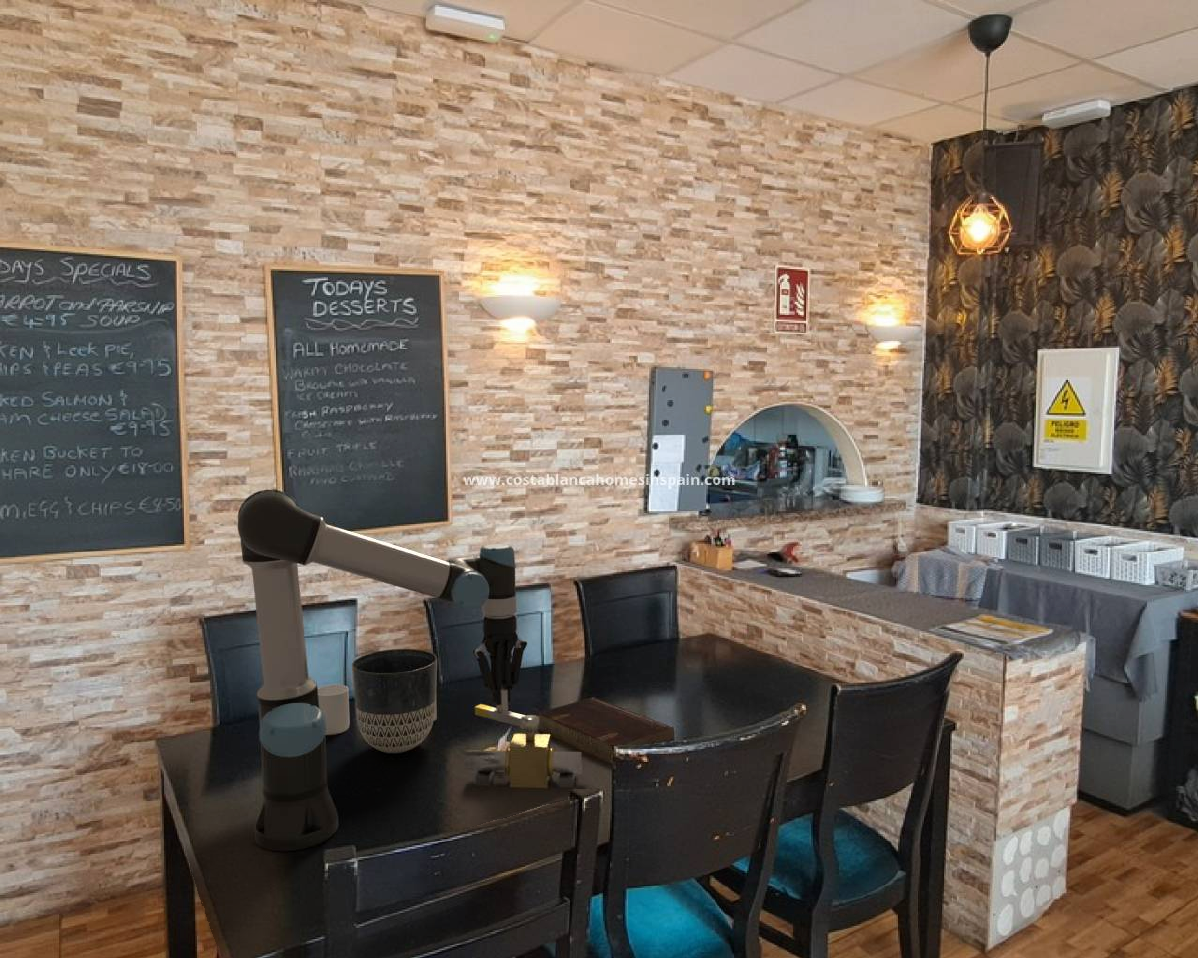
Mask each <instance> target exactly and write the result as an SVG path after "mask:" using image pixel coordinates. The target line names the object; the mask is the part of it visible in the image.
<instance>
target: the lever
mask: <svg viewBox="0 0 1198 958" xmlns="http://www.w3.org/2000/svg"><path fill="white" fill-rule="evenodd" d="M474 715H475V716H479V717H481V718H482V717H483V718H487V719H491V720H494V721H498V722H501V723H504V724H505V723H506V724H510V725H513V726H517V727H520V729H521V730H522V731H534V730H535V731H537V730H538V729H539V717H538V715H536V714H535V715H533V714H528V715H525V714H520V713H516V712H512V711H509V710H508V711H506V710H502V709H498V708H497V707H493V706H489V705H487V704H482V703H480V704H478V705H475V706H474Z"/></svg>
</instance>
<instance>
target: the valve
mask: <svg viewBox="0 0 1198 958" xmlns="http://www.w3.org/2000/svg"><path fill="white" fill-rule="evenodd" d="M524 731H525V730H524ZM535 732H536V730H534V731H525V733H513V737H512V739H511V741H510V743H509V744H510V745H509V746H507V747H506V749H505V750H476V749H475V750H472V749H468V750H466V751H465V754H464V771H465V772H470V773H472V772H475V773H476V775H475V786H476V787H479V786H480V787H481V786H482V787H491V783H492V781H493V778H494V775H495V773H505V774H504V775H505V776H506V777H509V788H524V789H525V788H526V789H529V788H531V789H533V788H534V789H548V786H549V783H550V779H551V778H554V777H555V774H559V778H558V782H559V783H558V786H559V788H574V785H575V779H576V774H582V770H583V769H582V767H583V766H582V765H583V763H582V762H583V757H582V756H583V755H582V752H583V751H556V748H555V747H551V736H550V734H546V733H542V734H541V733H535Z"/></svg>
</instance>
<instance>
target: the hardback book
mask: <svg viewBox="0 0 1198 958" xmlns="http://www.w3.org/2000/svg"><path fill="white" fill-rule="evenodd" d="M537 716H538V717H539V729H537V730H538V731H539V732H542V734H550V737H552V738H554V739H556V740H559V741H561V742H563V743H565V744H568V745H570V746H572V747H574V748H576V749H578V750H581V751H582V752H585V753H587V754H589V755H591V756H594V757H596V758H597V759H600V760H603V761H604V762H607V763H608V764H611V756H612V753H613V749H614V746H617V745H643V744H655V743H662V742H670V741H674V742H675V730H674V726H671V725H668V724H665V723H662V722H660V721H657V720H654V719H652V718H649V717H647V716H644V715H641V714H639V713H637V712H633V711H631V710H629V709H626V708H623V707H622V706H618V705H616V704H614V703H610V702H607V701H605V700H602V699H600V698H597V697H596V696H595V697H594V696H593V697H589V698H585V699H582V700H579V701H575V702H571V703H568V704H565V705H560V706H556V707H553V708H550V709H546V710H543V711H540V712H537Z"/></svg>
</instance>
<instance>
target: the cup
mask: <svg viewBox="0 0 1198 958" xmlns="http://www.w3.org/2000/svg"><path fill="white" fill-rule="evenodd" d="M317 688H318V697H319V707H320V710H321V711H322V712H323V714H324V718H325V722H326V733H325V736H332V735H339V734H342V733H344V732H346V731H348V729H349V728H350V701H349V700H350V696H349V695H350V694H349V691H350V690H349V687H348V686H347V685H344V684H328V685H324V686H320V687H317Z"/></svg>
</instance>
